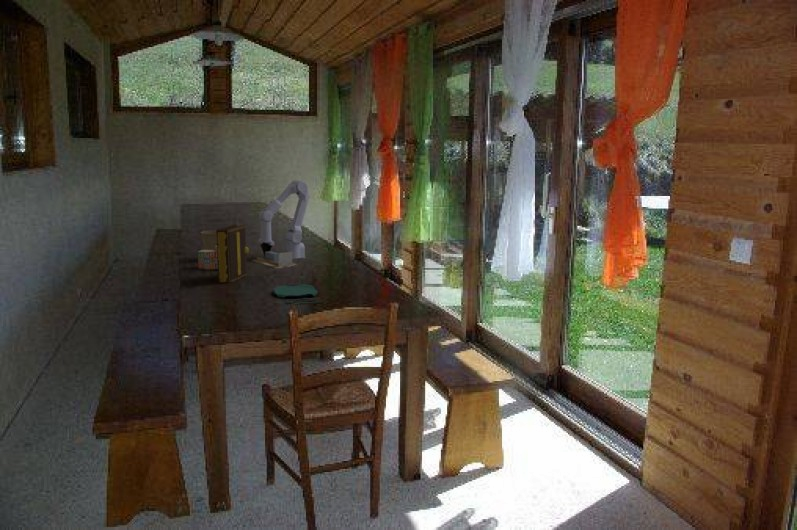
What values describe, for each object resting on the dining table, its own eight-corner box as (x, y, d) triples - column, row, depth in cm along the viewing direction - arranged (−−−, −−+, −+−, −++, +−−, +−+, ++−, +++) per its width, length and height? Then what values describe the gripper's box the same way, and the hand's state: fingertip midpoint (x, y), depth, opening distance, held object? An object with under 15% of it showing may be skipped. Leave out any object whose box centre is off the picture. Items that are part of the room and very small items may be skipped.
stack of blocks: (198, 269, 330) (197, 245, 328) (202, 267, 336) (201, 243, 334) (238, 270, 329) (237, 246, 326) (242, 268, 335) (241, 244, 332)
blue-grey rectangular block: (271, 260, 353) (270, 251, 352) (280, 262, 345) (279, 253, 344) (265, 260, 351) (265, 251, 350) (274, 263, 343) (274, 254, 342)
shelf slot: (273, 258, 361) (273, 245, 360) (297, 265, 342) (297, 251, 340) (250, 261, 352) (250, 247, 351) (274, 268, 333) (273, 254, 331)
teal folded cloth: (314, 287, 292) (313, 282, 292) (327, 304, 265) (326, 299, 264) (270, 290, 287) (269, 285, 286) (278, 308, 259) (278, 302, 258)
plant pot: (225, 263, 347) (224, 234, 344) (198, 262, 347) (196, 233, 344) (233, 258, 361) (232, 230, 358) (207, 257, 362) (205, 229, 359)
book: (231, 283, 298) (229, 230, 293) (214, 282, 299) (212, 229, 295) (251, 274, 319) (250, 224, 314) (235, 273, 321) (233, 223, 316)
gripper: (253, 231, 353) (254, 255, 355) (265, 234, 342) (266, 259, 345) (264, 230, 357) (265, 254, 360) (277, 233, 346) (278, 258, 349)
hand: (266, 256), depth 353 cm, fingers closed
